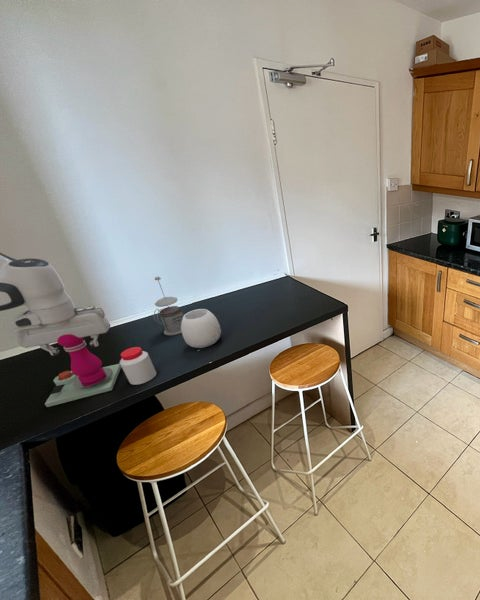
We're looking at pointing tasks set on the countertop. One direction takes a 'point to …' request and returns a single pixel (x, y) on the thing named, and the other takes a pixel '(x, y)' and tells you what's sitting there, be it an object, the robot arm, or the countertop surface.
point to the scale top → (85, 385)
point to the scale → (74, 393)
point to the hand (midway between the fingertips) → (76, 350)
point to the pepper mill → (81, 359)
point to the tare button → (65, 375)
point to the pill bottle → (137, 366)
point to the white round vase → (200, 328)
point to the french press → (169, 326)
